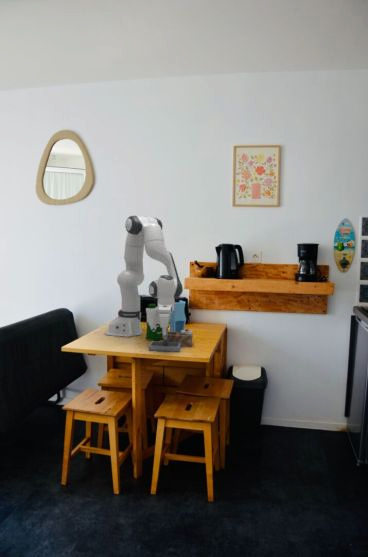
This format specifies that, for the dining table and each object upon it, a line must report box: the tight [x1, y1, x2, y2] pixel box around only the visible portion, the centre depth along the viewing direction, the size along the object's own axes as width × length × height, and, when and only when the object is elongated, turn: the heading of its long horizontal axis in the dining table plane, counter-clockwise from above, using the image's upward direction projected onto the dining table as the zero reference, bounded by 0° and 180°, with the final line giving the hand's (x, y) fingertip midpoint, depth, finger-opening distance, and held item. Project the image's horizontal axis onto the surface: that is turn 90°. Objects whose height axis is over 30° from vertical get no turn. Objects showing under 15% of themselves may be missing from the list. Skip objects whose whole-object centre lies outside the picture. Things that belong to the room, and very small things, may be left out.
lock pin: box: [162, 324, 170, 346], centre depth 216 cm, size 4×4×12 cm
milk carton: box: [145, 303, 163, 342], centre depth 236 cm, size 9×9×20 cm
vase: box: [169, 300, 187, 332], centre depth 249 cm, size 8×8×20 cm
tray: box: [148, 340, 181, 353], centre depth 216 cm, size 16×10×2 cm, turn 87°
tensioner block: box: [168, 328, 194, 348], centre depth 226 cm, size 16×9×9 cm, turn 87°
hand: (165, 332), depth 216 cm, fingers open, 8 cm apart
